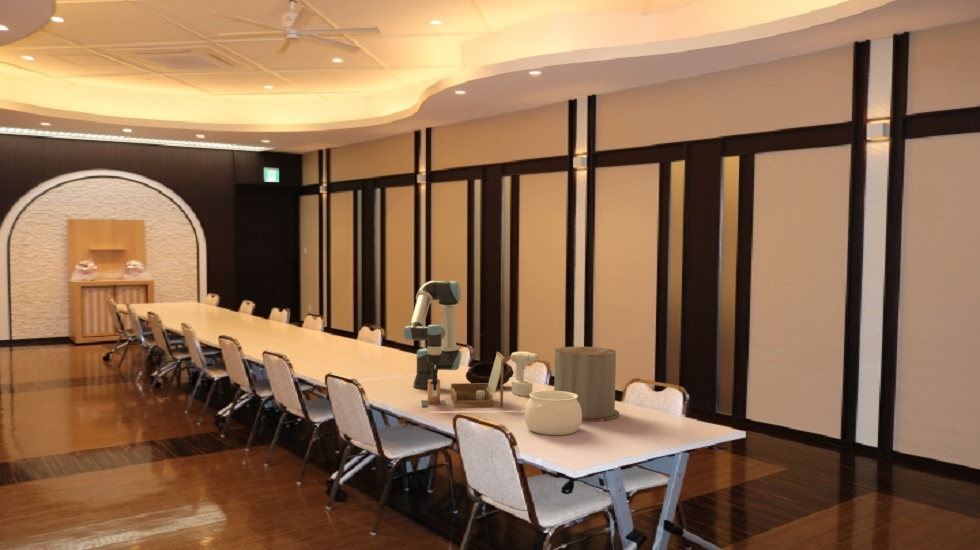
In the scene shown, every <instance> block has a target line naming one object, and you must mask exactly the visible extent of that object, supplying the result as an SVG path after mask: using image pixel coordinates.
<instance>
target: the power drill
mask: <svg viewBox="0 0 980 550" xmlns="http://www.w3.org/2000/svg"><path fill="white" fill-rule="evenodd" d="M539 356H540V355H538V354H537V353H533V352H530V351H514V352H512V353H511V354H510V359H511V361H512V362H513V363H515V364H516V366H515V380H511V393H512V394H514V395H517V396H519V395H520V397H530V396H529V395H530V393H532V392H533V385H534V384H533V382H530V381H528V380H525V370H526V366H527V365H529V364H530V363H533V362H535V363H536V362H537V361H538V360H539V359H540V357H539Z"/></svg>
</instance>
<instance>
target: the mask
mask: <svg viewBox="0 0 980 550" xmlns="http://www.w3.org/2000/svg"><path fill="white" fill-rule="evenodd" d="M494 362H495V361H493V362H477V363H475V364H474V365H472V366H471V367H469V368H468V369H467V372H466V373H465V379H466V380H467V381H468V382H469V383H487V384H488V383H489V380H490V376H491V372H492V369H493V365H494ZM513 375H514V369H513V368H512V366H511V365H510V364H509V363H508V362H504V368H503V385H505V384H507V383H508V382H509V381H510V379H511V378H512V377H513ZM487 387H488V386H487ZM498 387H499V388H500V387H501V373H500V377H499V380H498V384H497V388H498Z"/></svg>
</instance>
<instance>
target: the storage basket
mask: <svg viewBox="0 0 980 550" xmlns="http://www.w3.org/2000/svg"><path fill="white" fill-rule="evenodd" d="M616 357H617V351H616V350H615V349H610V348H607V347H605V348H604V347H599V346H597V347H595V346H562V347H557V348H555V349H554V380H553V381H554V382H553V383H554V384H553V385H554V386H553V387H554V389H553V391H565V392H570V393H574V394H577V395H578V398H576V399H577V401H578V402H579V404H580V406H581V410H582V421H585V422H589V423H594V422H595V423H598V422H607V421H613V420H617V418H619V416H620V411H618V409H616V408H615V407H616V406H615V405H616V359H617V358H616Z"/></svg>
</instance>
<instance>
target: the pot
mask: <svg viewBox="0 0 980 550" xmlns="http://www.w3.org/2000/svg"><path fill="white" fill-rule="evenodd" d="M528 397H529V399H528V401H527V402H526V405H525V408H524V421H525V424H526V426H527V428H528V429H529V431H531V432H534V433H536V434H540V435H545V436H547V435H549V436H566V435H571V434H574V433H576V432H577V431H578V430H579V429H580V426H581V425H582V422H581V421H582V410H581V406H580V404H579V402H578V401H577V399H576V398H578V395H577V394H574V393H570V392H565V391H554V390H537V391H532V393H530V395H529V396H528Z"/></svg>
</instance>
